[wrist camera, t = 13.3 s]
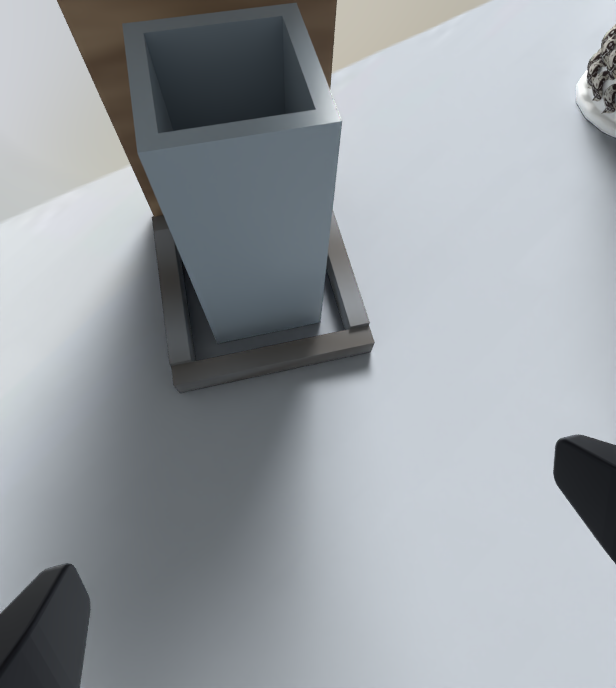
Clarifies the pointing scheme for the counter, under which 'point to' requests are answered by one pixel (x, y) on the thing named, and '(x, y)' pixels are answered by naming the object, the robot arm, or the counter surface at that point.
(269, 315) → the sleeve
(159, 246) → the wooden c-shaped stand
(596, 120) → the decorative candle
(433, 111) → the counter surface
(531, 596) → the counter surface
